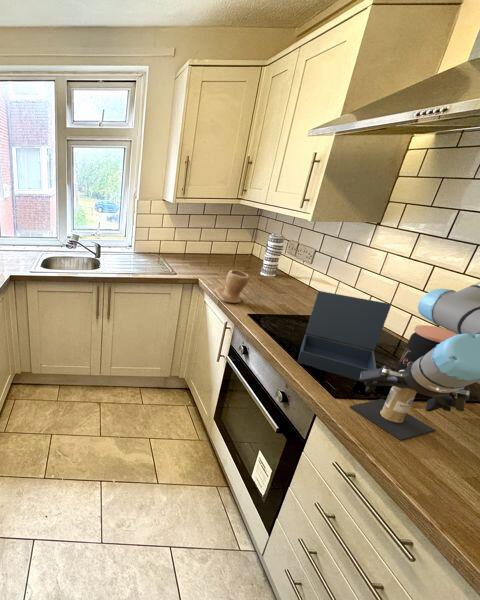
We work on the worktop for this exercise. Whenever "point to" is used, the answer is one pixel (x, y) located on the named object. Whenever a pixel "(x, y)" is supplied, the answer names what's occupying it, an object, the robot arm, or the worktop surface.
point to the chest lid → (348, 319)
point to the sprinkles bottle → (397, 404)
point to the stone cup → (233, 286)
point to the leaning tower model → (272, 255)
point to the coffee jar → (422, 344)
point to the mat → (398, 430)
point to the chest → (336, 357)
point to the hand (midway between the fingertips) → (397, 396)
